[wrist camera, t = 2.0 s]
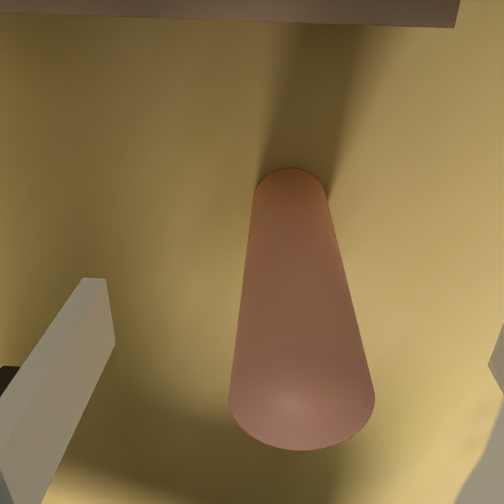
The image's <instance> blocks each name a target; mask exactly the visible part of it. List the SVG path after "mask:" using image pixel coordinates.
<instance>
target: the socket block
mask: <svg viewBox="0 0 504 504" xmlns="http://www.w3.org/2000/svg"><path fill="white" fill-rule="evenodd" d="M459 4H460V0H0V12H3V13H32V14H61V15H89V16H118V17H147V18H176V19H205V20H234V21H262V22H291V23H320V24H349V25H378V26H407V27H435V28H454V26H455V22H456V17H457V13H458V8H459Z"/></svg>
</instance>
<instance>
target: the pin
mask: <svg viewBox="0 0 504 504" xmlns="http://www.w3.org/2000/svg"><path fill="white" fill-rule="evenodd" d="M374 402H375V395H374V389H373V385H372V381H371V377H370V373H369V369H368V365H367V361H366V357H365V353H364V349H363V344H362V340H361V336H360V332H359V328H358V324H357V320H356V316H355V312H354V308H353V304H352V300H351V296H350V291H349V287H348V283H347V279H346V275H345V271H344V267H343V263H342V259H341V255H340V251H339V247H338V243H337V238H336V234H335V230H334V226H333V222H332V218H331V214H330V210H329V206H328V202H327V198H326V194H325V190H324V188H323V186H322V184H321V183H320V182H319V180H318V179H317V178H316V177H314V176H313V175H312V174H310V173H308V172H306V171H304V170H301V169H296V168H285V169H280V170H277V171H274V172H272V173H270V174H269V175H267V176H266V177H265V178H264V179H263V180H262V181H261V182H260V183H259V185H258V186H257V188H256V190H255V193H254V196H253V204H252V212H251V220H250V228H249V236H248V245H247V253H246V261H245V269H244V277H243V286H242V294H241V302H240V310H239V318H238V326H237V335H236V343H235V351H234V359H233V367H232V376H231V384H230V392H229V405H230V409H231V412H232V414H233V417H234V419H235V420H236V422H237V423H238V424H239V425H240V427H241V428H242V429H243V430H244V431H246V432H247V433H248V434H249V435H251V436H252V437H254V438H255V439H257V440H259V441H261V442H263V443H265V444H268V445H270V446H274V447H277V448H282V449H287V450H299V451H306V450H316V449H322V448H326V447H330V446H333V445H336V444H339V443H341V442H343V441H345V440H347V439H348V438H350V437H352V436H353V435H355V434H356V433H357V432H358V431H359V430H360V429H361V428H362V427H363V426H364V425H365V424H366V423H367V421H368V420H369V418H370V416H371V414H372V411H373V408H374Z"/></svg>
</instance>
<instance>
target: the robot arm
mask: <svg viewBox="0 0 504 504" xmlns="http://www.w3.org/2000/svg"><path fill="white" fill-rule="evenodd" d="M115 344H116V340H115V334H114V327H113V321H112V315H111V309H110V302H109V296H108V290H107V283H106V279H103V278H85V277H83V278H82V279H81V281H80V282H79V284H78V285H77V286H76V288H75V289H74V291H73V292H72V294H71V295H70V297H69V298H68V300H67V301H66V302H65V304H64V305H63V307H62V308H61V310H60V311H59V313H58V314H57V316H56V317H55V318H54V320H53V321H52V323H51V324H50V326H49V327H48V329H47V330H46V332H45V333H44V334H43V336H42V337H41V339H40V340H39V342H38V343H37V345H36V346H35V348H34V349H33V350H32V352H31V353H30V355H29V356H28V358H27V359H26V361H25V362H24V363H23V365H22V366H21V367H14V366H3V367H1V368H0V504H41V502H42V500H43V498H44V496H45V494H46V491H47V489H48V487H49V485H50V483H51V481H52V479H53V476H54V474H55V472H56V470H57V468H58V466H59V464H60V461H61V459H62V457H63V455H64V453H65V451H66V449H67V446H68V444H69V442H70V440H71V438H72V436H73V434H74V432H75V429H76V427H77V425H78V423H79V421H80V419H81V417H82V414H83V412H84V410H85V408H86V406H87V404H88V402H89V399H90V397H91V395H92V393H93V391H94V389H95V387H96V384H97V382H98V380H99V378H100V376H101V374H102V372H103V369H104V367H105V365H106V363H107V361H108V359H109V357H110V354H111V352H112V350H113V348H114V346H115ZM488 367H489V369H490V370H491V372H492V374H493V376H494V378H495V380H496V381H497V383H498V385H499V387H500V389H501V391H502V392H503V394H504V324H503V327H502V329H501V332H500V335H499V337H498V340H497V342H496V345H495V347H494V350H493V353H492V355H491V358H490V360H489V363H488Z"/></svg>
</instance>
